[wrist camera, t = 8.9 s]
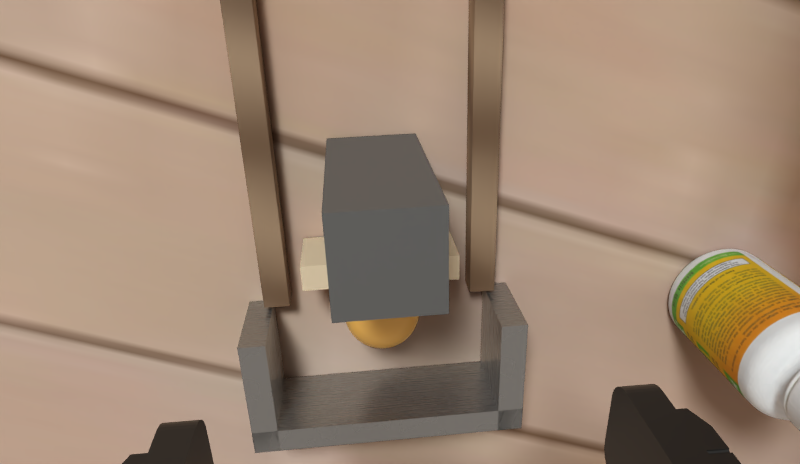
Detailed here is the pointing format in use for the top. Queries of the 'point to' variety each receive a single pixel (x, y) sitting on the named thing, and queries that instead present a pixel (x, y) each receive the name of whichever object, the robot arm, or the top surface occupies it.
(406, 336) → the ball
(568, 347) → the top surface
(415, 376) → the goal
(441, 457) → the top surface
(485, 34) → the lane
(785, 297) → the supplement bottle
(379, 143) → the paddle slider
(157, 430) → the robot arm
